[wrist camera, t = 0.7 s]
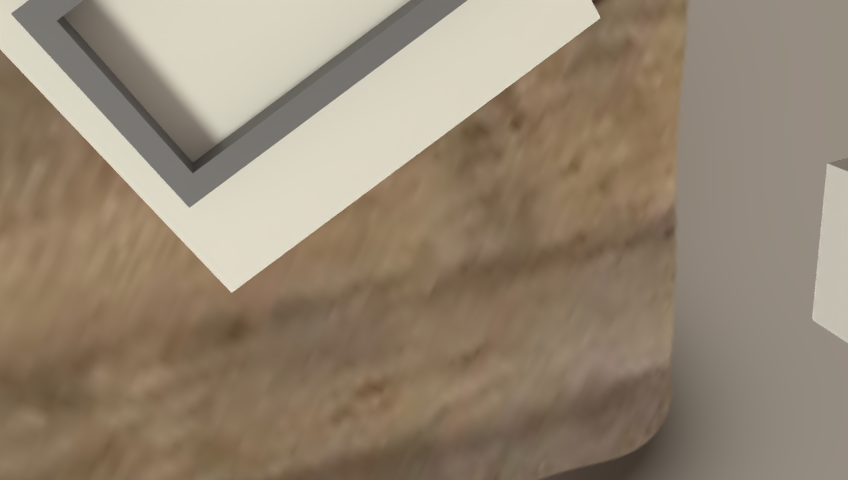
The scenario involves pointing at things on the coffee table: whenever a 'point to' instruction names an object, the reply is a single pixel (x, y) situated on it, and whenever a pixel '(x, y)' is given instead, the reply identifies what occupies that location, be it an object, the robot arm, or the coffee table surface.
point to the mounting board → (272, 98)
